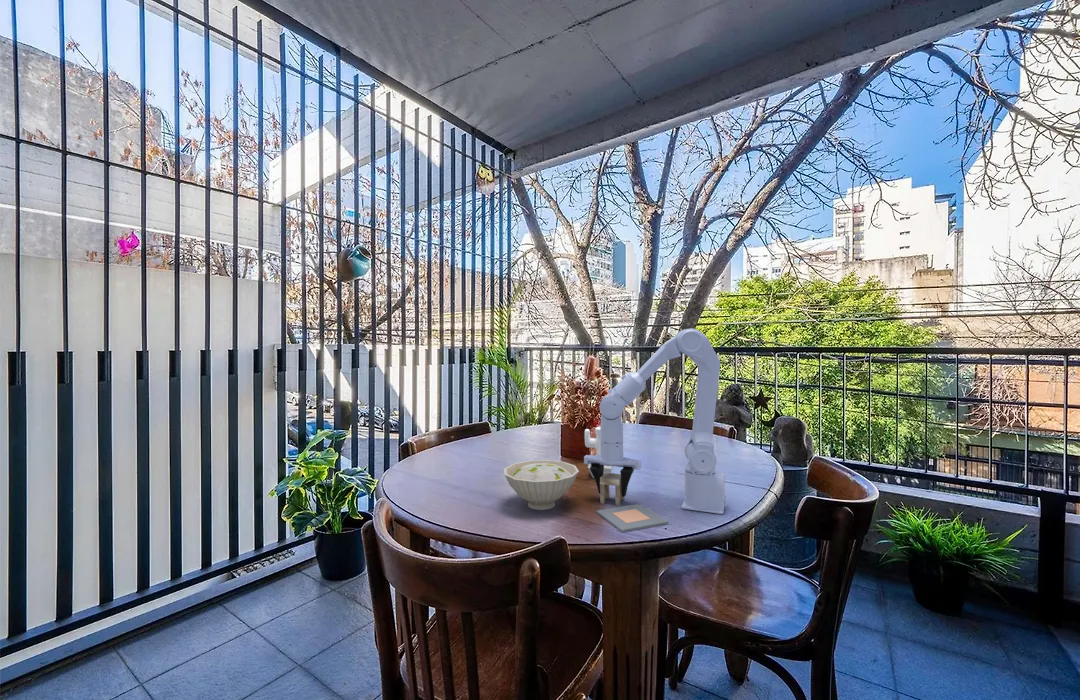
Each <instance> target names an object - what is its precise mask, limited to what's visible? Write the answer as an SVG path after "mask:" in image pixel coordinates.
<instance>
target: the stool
mask: <svg viewBox="0 0 1080 700" xmlns="http://www.w3.org/2000/svg"><path fill="white" fill-rule="evenodd" d="M610 486H614V487H615V488H614V490H615V496H614V497H615V507H616V506H617V507H621V501H623V502H624V501H625V497H622V494H621V491H622V481H621V473H613V472H611V473H605V474H604V475H603V476H601V477H600V494H599V499H600V500H599V501H600V502H599V503H600V504H603V505H604V504H605V503H606V499H610V498H611V497H610V495H611V493H610Z"/></svg>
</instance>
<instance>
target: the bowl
mask: <svg viewBox="0 0 1080 700" xmlns="http://www.w3.org/2000/svg"><path fill="white" fill-rule="evenodd" d="M579 472H580V471H579V469H578V468H577V466H576V465H575V464H572V463H568V462H566V461H562V460H551V459H550V460H549V459H537V460H536V459H535V460H525V461H520V462H515V463H512V464H510V465H508V466H507V467H504V469H503V474H504V476H505V479H506V481H507V482H508V485H509V486H510V487H511V489H512V490H513V491H514V492H515V493H516V494H517V495H518V496H519V497H520V498H522V499H523V500H525V501H527V502H528V503H527V507H528V508H530V509H532V510H538V511H543V510H551V509H553V508H554V507H555V506H556V503H555V502H556V501H557V500H558V499H561V498H562V497H563V496H564V495H565V493H567V491H568V490H569V489H570V488H571V487H572V486H573V484H574V483H575V480H576V478H577V476H578V474H579Z"/></svg>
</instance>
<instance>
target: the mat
mask: <svg viewBox="0 0 1080 700" xmlns="http://www.w3.org/2000/svg"><path fill="white" fill-rule="evenodd" d="M596 514H597V515H599V516H600V517H601V518H602V519H603V520H605V521H607V523H609V524H610V525H611V526H613V528H615V529H616V530H618V531H619V532H621V533H625V532H626V533H627V532H632V531H637V530H643V529H649V528H652V527H658V526H664V525H665V526H666V525H669V521H668V520H667V519H665V518H663V517H662V516H661V515H659V514H657V513H655V512H653V511H652V510H650V509H649V508H647V507H645V506H643V504H640V503H635V504H629V505H625V506H624V505H623V506H617V507H616V506H615V507H612V508H611V507H610V508H606V509H605V508H604V509H600V510H596Z"/></svg>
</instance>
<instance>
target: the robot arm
mask: <svg viewBox="0 0 1080 700" xmlns="http://www.w3.org/2000/svg"><path fill="white" fill-rule="evenodd" d="M682 354H683V355H685V356H687V357H689V359H690V360H691V361H692V363H694V364H695V365H696V366H697V368H698V371H697V380H696V381H697V382H696V389H695V390H696V392H695V401H694V411H693V418H692V419H693V421H692V429H691V431H690V436H689V441H688V443H687V444H686V445H685V449H684V455H685V458H686V459H687V460H688V461H687V464H686V465H685V466H684V491H685V492H684V500H683V502H682V504H681V509H684V510H689V511H697V512H705V513H712V514H713V513H714V514H720V515H723V514H724V513H725V505H726V503H727V496H725V495H726V492H725V491H726V488H725V486H726V484H725V483H726V482H725V479H726V478H725V473H724V472H720V471H717V470H716V466H717V461H718V460H717V456H716V454H715V451H714V450H715V449H714V447H715V441H714V435H713V434H714V425H715V417H716V407H717V397H718V387H719V380H720V369H721V368H720V367H721V361H720V359H719V356H718V355H717V353H716V351H715V350H714V347H713V346H712V343H711V341H710V339H709V338H708V337H707V336H706V335H705V334H704V333H703V332H702V331H700V330H698V329H697V328H683V329H682V330H680V331H678V332H677V333H676V335H675V336H672V337H671V338H669V340H667V341H666V342H664V343H663V344H662V345H661V346H660V347H659V348H658V349H657V350H656V351H655V352H654V353H653V354H652V355H651V357H650V358H649V359H648V360H647V361H646V362H645V363H644V364H643V365H642V366H641V367H640V368H639V369H638V370H637V371H634V372H630V371H629V372H628V373H627V374H622V375H621V376H620V379H621V380H620V381H619V382H618V383H617V384H616V385H615V386H614V387H613V388H609V389H608V390H607V393H608V394H606V395H605V396H604V397H603V398H602V399H601V401H600V403H599V411H600V414H601V415H600V422H601V423H600V426H599V427H600V432H601V455H596V454H594V455H593V454H592V455H591V454H586V455H584V456H583V464H584V465H589V464H591V467H590V471H591V473H592V474H593V476H594V481H595V484H596V486H597V487H596V488H597V491H598V494H599V495H600V477H601V476H603V473H604V465H606V466H613V467H618V468H622V469H620V473H619V474H621V481H622V491H621V494H622V497H624V498H625V497H626V496H627V494H628V493H627V492H628V487H629V486H628V485H629V482H630V481H631V477H632V475H633V473H634V471H635V470H636V471H637V470H641V468H642V460H639V459H633V458H629V457H624V425H623V421H622V420H623V418H622V417H623V416H622V415H623V412H624V407H628V406H629V405H630V404H631V403H633V402H634V401H635V399H637V398H638V397H639V396H640V395H641V394H642V393H643V392H644V391H645V390H646V386H647V385H646V383H647V380H648V379H650V377H652V376H653V375H654V374H655V373H656V372H657V371H658V370H659V369H660V368H661V367H662V366H663V365H665V364H666V363H667V362H668V361H669V360H672V359H675V358H679V357H680V358H681V357H682ZM590 471H589V472H590ZM591 473H590V474H591Z"/></svg>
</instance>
